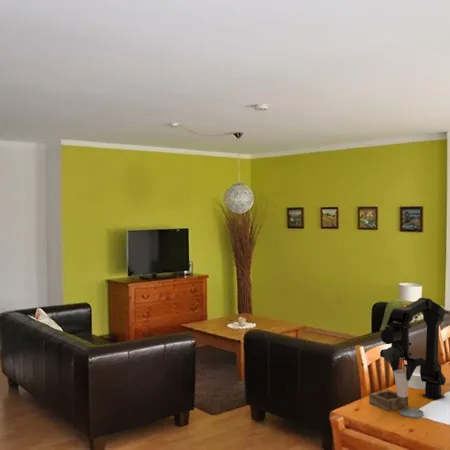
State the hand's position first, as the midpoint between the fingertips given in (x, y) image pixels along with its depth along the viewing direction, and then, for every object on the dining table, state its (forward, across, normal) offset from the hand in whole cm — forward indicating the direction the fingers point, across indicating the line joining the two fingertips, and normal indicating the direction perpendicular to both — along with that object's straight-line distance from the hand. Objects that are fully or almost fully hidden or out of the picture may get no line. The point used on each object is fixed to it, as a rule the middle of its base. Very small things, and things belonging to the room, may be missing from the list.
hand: (401, 378), depth 218 cm
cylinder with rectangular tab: (+13, -19, +30) cm, 38 cm away
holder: (+13, -7, 0) cm, 15 cm away
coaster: (+13, +5, 0) cm, 14 cm away
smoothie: (+7, 0, 0) cm, 7 cm away
